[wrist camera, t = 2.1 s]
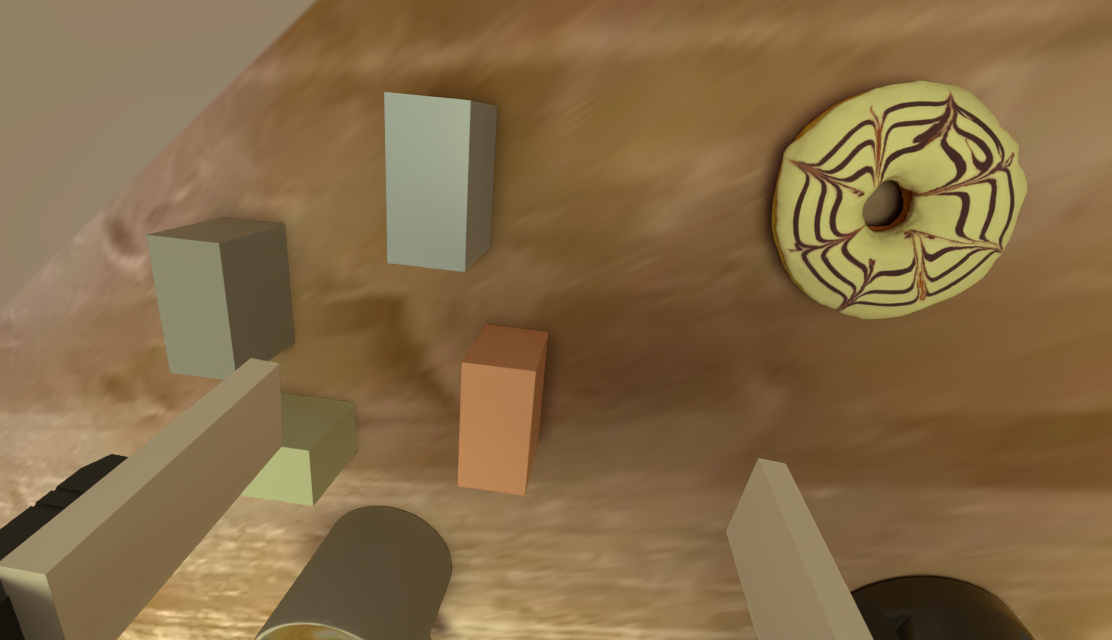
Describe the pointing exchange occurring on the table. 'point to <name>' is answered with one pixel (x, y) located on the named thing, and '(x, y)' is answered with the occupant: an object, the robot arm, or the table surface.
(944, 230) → the decorated donut
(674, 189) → the table surface
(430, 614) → the coffee mug
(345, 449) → the brick sage
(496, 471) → the brick terracotta
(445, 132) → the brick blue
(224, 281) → the brick slate
